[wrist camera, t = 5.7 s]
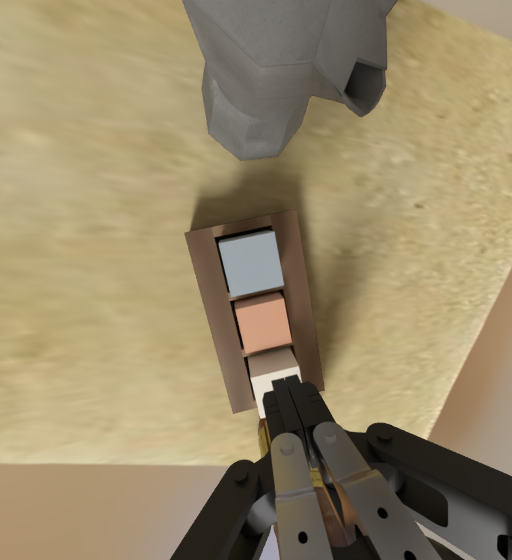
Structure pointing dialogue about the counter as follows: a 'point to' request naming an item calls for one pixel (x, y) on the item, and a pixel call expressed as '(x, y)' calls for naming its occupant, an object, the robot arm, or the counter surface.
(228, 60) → the coffeepot
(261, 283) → the slate button
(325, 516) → the sauce bottle
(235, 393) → the brown button board
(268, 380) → the cream button
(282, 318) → the terracotta button
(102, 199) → the counter surface
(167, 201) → the counter surface
